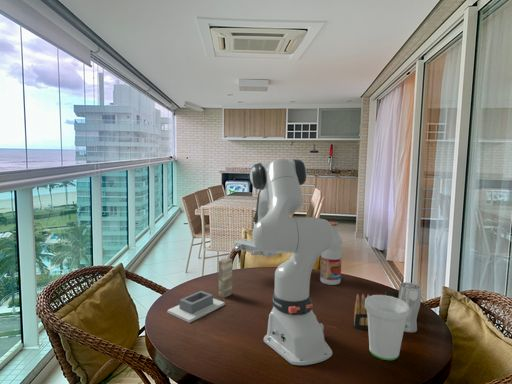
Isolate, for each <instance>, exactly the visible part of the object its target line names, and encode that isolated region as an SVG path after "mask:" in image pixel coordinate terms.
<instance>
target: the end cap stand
mask: <svg viewBox="0 0 512 384" xmlns="http://www.w3.org/2000/svg"><path fill="white" fill-rule="evenodd" d="M225 304H226V303H225V301H222V300H220V299H217V298H214V294H211V293H209V292H206V291H203V290H199V291H197V292H194V293H192V294H190V295H188V296H184V297H183V298H181V299H179V304H178V305H175V306H173V307H171V308H168V309H167V311H166V313H167V314H169V315H172V316H174V317H176V318H178V319H180V320H182V321H184V322H186V323H188V324H190V323H192V322H194V321H196V320H198V319H200V318H202V317H204V316H206V315H207V314H210V313H211V312H213V311H216V310H218V309H220V308H221V307H224V306H225Z"/></svg>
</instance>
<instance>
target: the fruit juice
mask: <svg viewBox="0 0 512 384" xmlns="http://www.w3.org/2000/svg"><path fill="white" fill-rule="evenodd" d="M328 222H329V223H330V224H331V226H332V228H333V232H334V239H333V242H332V244H331V246H330V247H329V248H328V249H327V250H325V251H324V252H323V253H322V254H321V255H320V273H319V280H320V282H321V283H322V284H323V285H329V286H335V285H339V284H340V283H341V279H342V261H343V260H342V259H343V258H342V257H343V252H342V245H343V240H342V237H341V236H340V234H339V231H338V226H339V222H336V221H328Z"/></svg>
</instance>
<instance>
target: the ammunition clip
mask: <svg viewBox="0 0 512 384" xmlns="http://www.w3.org/2000/svg"><path fill="white" fill-rule="evenodd" d="M372 294H373V293H372ZM373 295H375V294H373ZM373 295H372V296H373ZM369 296H370V294H369V293H367V296H366V297H365V294H364V293H362V295H361V298H360V295H359V293H357V295H356V299H355V303H354V304H355V305H354V314H353V321H352V322H353V324H352V326H353V328H354V329H360V330H368V316H367V310H366V308H365V299H366V298H367V297H369Z"/></svg>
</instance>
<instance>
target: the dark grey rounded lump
mask: <svg viewBox="0 0 512 384" xmlns="http://www.w3.org/2000/svg"><path fill="white" fill-rule="evenodd" d="M398 294H399V289H395V290H394V289H392V288H391V289H386V290H384V295H386V296H391V297H395V298H398Z"/></svg>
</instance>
